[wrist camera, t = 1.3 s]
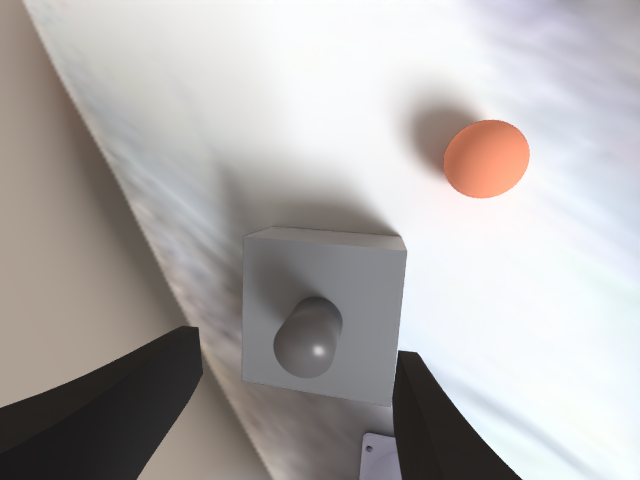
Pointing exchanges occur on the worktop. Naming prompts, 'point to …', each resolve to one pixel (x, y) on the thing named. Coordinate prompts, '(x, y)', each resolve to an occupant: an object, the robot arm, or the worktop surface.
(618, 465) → the worktop surface
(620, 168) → the worktop surface
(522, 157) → the ball
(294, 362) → the grey block
